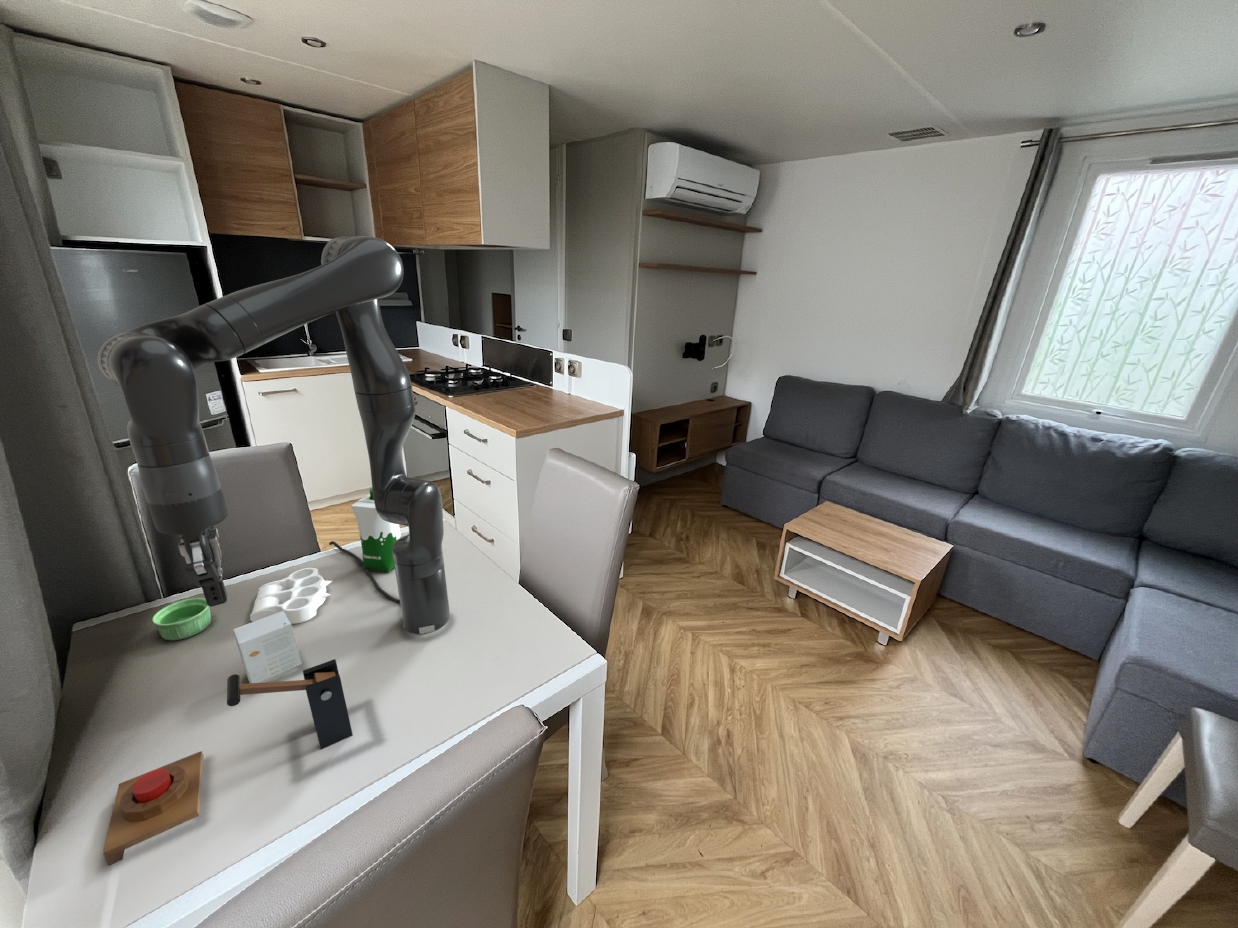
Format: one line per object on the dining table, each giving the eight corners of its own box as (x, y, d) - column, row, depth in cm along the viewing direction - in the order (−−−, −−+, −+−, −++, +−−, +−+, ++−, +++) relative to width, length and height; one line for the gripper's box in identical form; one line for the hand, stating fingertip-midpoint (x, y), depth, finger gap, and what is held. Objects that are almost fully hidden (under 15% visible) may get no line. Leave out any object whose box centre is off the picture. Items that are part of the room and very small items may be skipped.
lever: (224, 710, 65) (229, 694, 65) (225, 686, 69) (229, 671, 69) (333, 700, 74) (338, 685, 74) (329, 679, 78) (333, 666, 77)
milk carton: (410, 556, 131) (400, 487, 124) (389, 575, 122) (377, 501, 115) (379, 553, 132) (368, 484, 125) (357, 571, 124) (344, 498, 117)
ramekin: (158, 649, 96) (151, 630, 95) (158, 626, 103) (152, 608, 101) (216, 630, 102) (210, 612, 100) (213, 609, 108) (207, 592, 107)
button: (138, 786, 67) (134, 777, 66) (173, 772, 69) (169, 763, 68) (134, 808, 64) (129, 799, 63) (170, 793, 66) (166, 783, 65)
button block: (124, 795, 69) (114, 774, 68) (205, 761, 74) (198, 741, 73) (108, 865, 61) (97, 844, 59) (202, 822, 66) (193, 801, 64)
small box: (296, 654, 96) (284, 609, 92) (304, 669, 92) (292, 623, 88) (246, 675, 90) (231, 628, 87) (252, 692, 87) (237, 644, 83)
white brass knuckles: (263, 588, 116) (334, 574, 122) (249, 635, 101) (330, 616, 107) (260, 576, 115) (331, 562, 121) (245, 621, 100) (328, 603, 106)
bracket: (298, 778, 72) (279, 710, 68) (293, 735, 79) (275, 671, 74) (379, 740, 78) (367, 676, 74) (368, 703, 85) (356, 643, 81)
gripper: (219, 501, 62) (251, 616, 68) (221, 470, 72) (249, 573, 78) (137, 516, 57) (179, 637, 63) (152, 480, 67) (187, 588, 73)
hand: (218, 602), depth 70 cm, fingers closed
